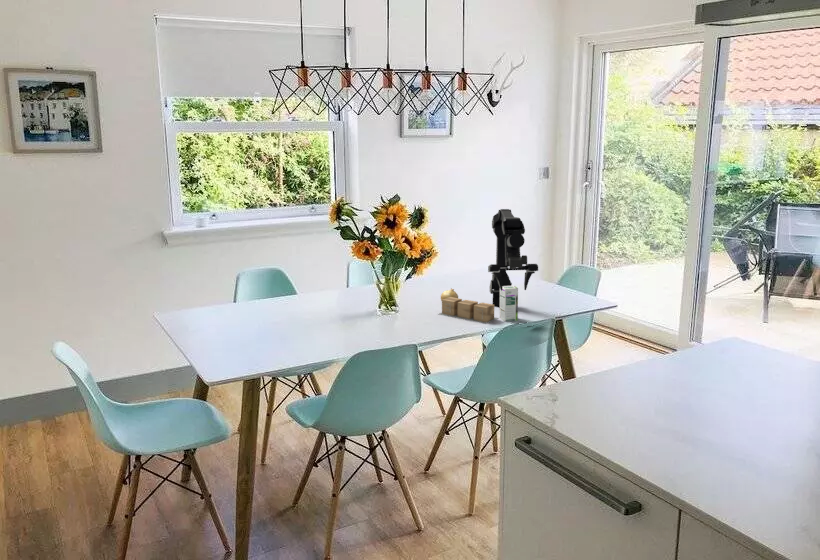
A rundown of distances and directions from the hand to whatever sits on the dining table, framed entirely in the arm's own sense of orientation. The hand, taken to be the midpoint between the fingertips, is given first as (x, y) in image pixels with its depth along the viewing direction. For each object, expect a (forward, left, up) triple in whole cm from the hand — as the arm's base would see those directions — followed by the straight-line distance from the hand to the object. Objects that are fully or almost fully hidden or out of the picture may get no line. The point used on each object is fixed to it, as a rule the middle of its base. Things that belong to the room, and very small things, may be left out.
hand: (513, 290), depth 269 cm
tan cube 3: (-1, -30, -14) cm, 34 cm away
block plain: (-1, -22, -14) cm, 27 cm away
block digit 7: (-1, -14, -14) cm, 20 cm away
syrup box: (-8, -7, -16) cm, 19 cm away
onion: (-16, -42, -16) cm, 48 cm away
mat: (-1, -22, -15) cm, 27 cm away
